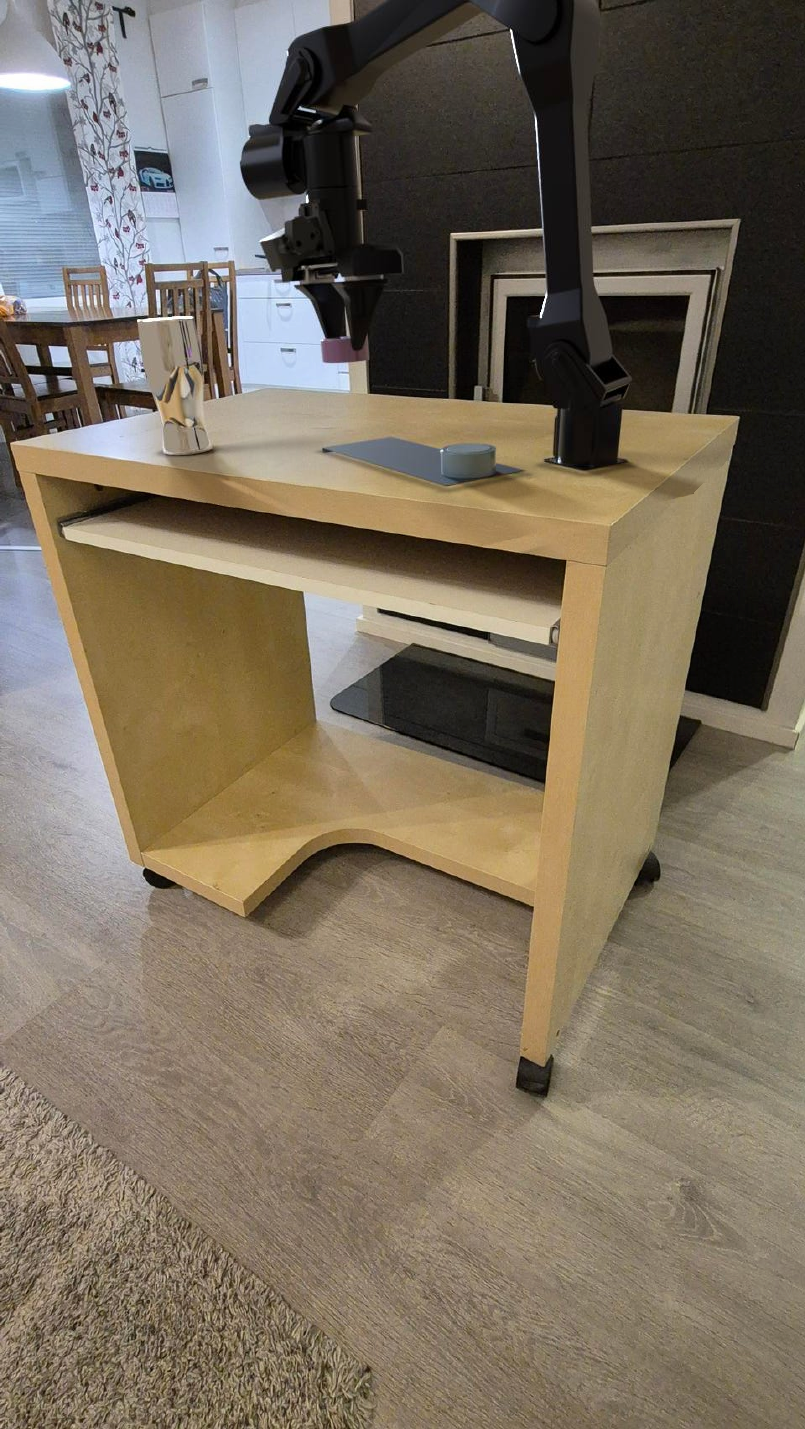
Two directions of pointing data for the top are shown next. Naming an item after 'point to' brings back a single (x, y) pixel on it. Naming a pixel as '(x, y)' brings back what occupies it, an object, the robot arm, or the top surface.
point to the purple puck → (342, 350)
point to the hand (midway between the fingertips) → (345, 349)
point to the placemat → (407, 459)
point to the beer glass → (176, 382)
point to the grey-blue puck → (468, 460)
